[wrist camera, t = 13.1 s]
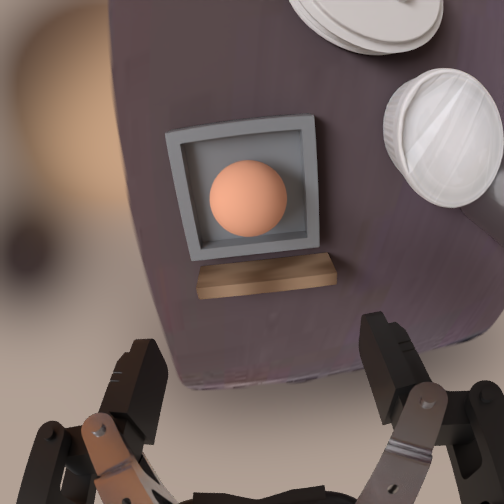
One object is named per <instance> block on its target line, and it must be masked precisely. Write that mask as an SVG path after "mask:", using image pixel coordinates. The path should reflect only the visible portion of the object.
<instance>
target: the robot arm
mask: <svg viewBox="0 0 504 504" xmlns="http://www.w3.org/2000/svg"><path fill="white" fill-rule="evenodd" d="M460 208H461V210H462V212H463V213H464V214H465V215H466V216H467V217H468V218H469V219H470V220H471V221H473V222H474V223H475V224H476V225H478V226H479V227H480V228H481V229H483V230H484V231H485V232H486V233H488V234H489V235H490V236H491V237H492V238H493V239H495V240H496V241H497V242H498V243H499V244H501V245H502V246H503V247H504V148H503V156H502V159H501V164H500V167H499V169H498V172H497V174H496V176H495V178H494V180H493V182H492V183H491V185H490V186H489V187H488V189H487V190H486V191H485V192H484V193H483V194H482V195H481V196H480V197H479V198H478V199H476V200H475V201H473V202H471V203H469V204H467V205H464V206H461V207H460ZM359 352H360V357H361V360H362V363H363V366H364V369H365V372H366V375H367V378H368V381H369V384H370V387H371V389H372V393H373V396H374V399H375V402H376V405H377V408H378V411H379V414H380V418H381V421H382V424H383V425H385V424H389V423H392V426H393V429H394V431H393V433H392V436H391V438H390V440H389V442H388V444H387V446H386V448H385V450H384V452H383V454H382V456H381V458H380V460H379V462H378V464H377V466H376V468H375V470H374V471H373V473H372V475H371V477H370V479H369V480H368V482H367V484H366V486H365V488H364V489H363V491H362V493H361V495H360V496H359V498H358V499H355V498H354V497H351V496H349V495H346V494H342V493H338V492H332V491H325V487H324V485H322V486H316V487H309V488H301V489H293V490H289V491H286V492H283V493H280V494H277V495H273V496H270V497H266V498H263V499H257V500H256V499H249V498H244V497H239V496H234V495H230V494H225V493H195V492H194V493H193V499H190V500H186V501H183V502H181V503H178V502H177V501H176V499H175V498H174V497H173V496H172V495H171V494H170V493H169V491H168V490H167V489H166V488H165V487H164V485H163V483H162V482H161V481H160V479H159V477H158V476H157V474H156V472H155V471H154V469H153V468H152V466H151V464H150V463H149V461H148V459H147V458H146V456H145V454H144V453H143V451H142V450H143V445H144V444H149V445H154V440H155V436H156V430H157V426H158V421H159V416H160V412H161V407H162V402H163V398H164V393H165V389H166V384H167V380H168V368H167V365H166V362H165V360H164V358H163V356H162V354H161V352H160V350H159V348H158V345H157V343H156V341H155V340H154V339H136V340H134V342H133V344H132V347H131V349H130V352H125V353H124V354H123V355H122V356H121V358H120V359H119V360H118V361H117V363H116V366H115V369H114V371H113V374H112V376H111V379H110V382H109V384H108V387H107V390H106V392H105V395H104V398H103V401H102V404H101V406H100V409H99V412H98V413H95V414H92V415H91V416H89V417H88V418H87V419H86V420H85V421H84V423H83V425H81V426H76V427H70V428H64V427H63V426H62V425H61V424H60V423H59V422H57V421H49V422H46V423H44V424H43V425H42V426H41V427H40V429H39V430H38V432H37V435H36V438H35V441H34V444H33V447H32V450H31V453H30V456H29V459H28V463H27V466H26V469H25V473H24V476H23V480H22V483H21V487H20V491H19V494H18V498H17V503H16V504H94V500H95V493H96V489H97V491H98V493H99V495H100V497H101V500H102V502H103V504H413V503H414V501H415V499H416V497H417V495H418V493H419V491H420V488H421V486H422V484H423V482H424V479H425V477H426V474H427V472H428V469H429V467H430V464H431V461H432V455H431V454H432V450H433V447H434V446H441V445H446V447H447V451H448V454H449V457H450V460H451V464H452V468H453V472H454V475H455V479H456V483H457V487H458V491H459V495H460V500H461V504H504V395H503V393H502V391H501V389H500V388H499V387H498V385H496V384H495V383H493V382H491V381H487V380H486V381H479V382H477V383H476V384H474V385H473V386H472V388H471V390H470V391H446V390H444V389H443V387H441V386H440V385H438V384H436V383H433V382H432V381H431V379H430V377H429V375H428V373H427V371H426V369H425V367H424V365H423V363H422V361H421V359H420V357H419V355H418V353H417V351H416V350H415V347H414V345H413V343H412V342H411V339H410V338H409V336H408V334H407V332H406V330H405V329H404V328H403V327H401V326H400V325H399V324H398V323H396V322H393V323H388V322H387V320H386V318H385V316H384V314H383V313H382V312H381V311H379V312H374V313H369V314H363V315H362V317H361V326H360V336H359ZM64 467H66V471H65V476H64V480H63V484H62V489H61V491H60V484H61V480H62V475H63V471H64Z"/></svg>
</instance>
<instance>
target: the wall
mask: <svg viewBox="0 0 504 504" xmlns="http://www.w3.org/2000/svg"><path fill="white" fill-rule="evenodd" d="M336 283H337V272H336V270H335V267H334V265H333V263H332V261H331V259H330V257H329V254H328V252H327V253H318V254H309V255H301V256H292V257H283V258H274V259H265V260H256V261H246V262H237V263H228V264H219V265H209V266H201V268H200V272H199V277H198V282H197V287H196V289H197V293H198V297H199V299H209V298H220V297H230V296H240V295H250V294H259V293H269V292H278V291H286V290H295V289H303V288H311V287H319V286H327V285H335V284H336Z"/></svg>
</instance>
